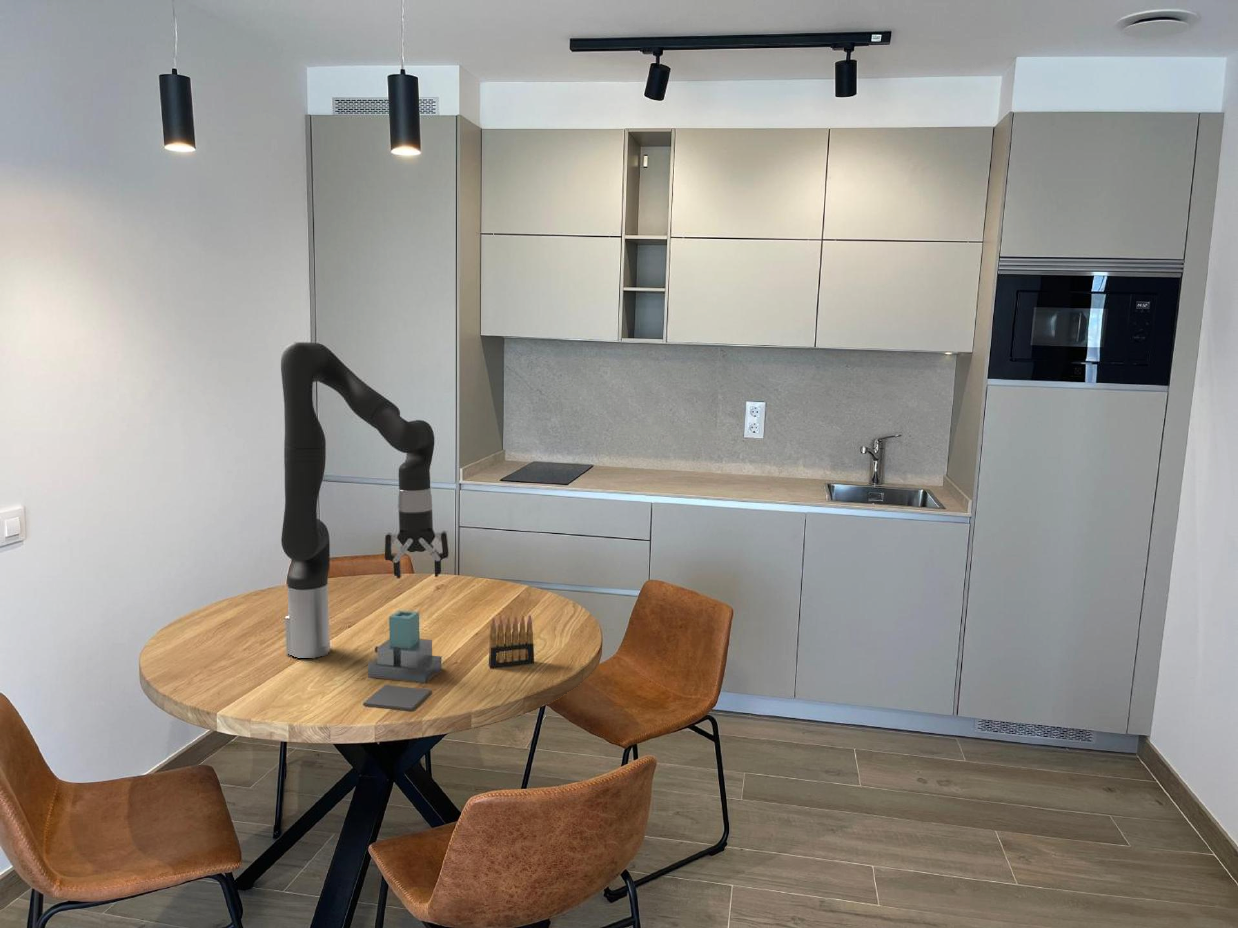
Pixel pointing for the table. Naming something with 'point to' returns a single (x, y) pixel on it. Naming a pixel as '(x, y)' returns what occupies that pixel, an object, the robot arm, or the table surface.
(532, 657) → the ammunition clip
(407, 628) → the sleeve
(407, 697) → the mat
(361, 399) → the robot arm
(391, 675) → the vise
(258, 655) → the table surface
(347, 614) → the table surface
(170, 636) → the table surface
